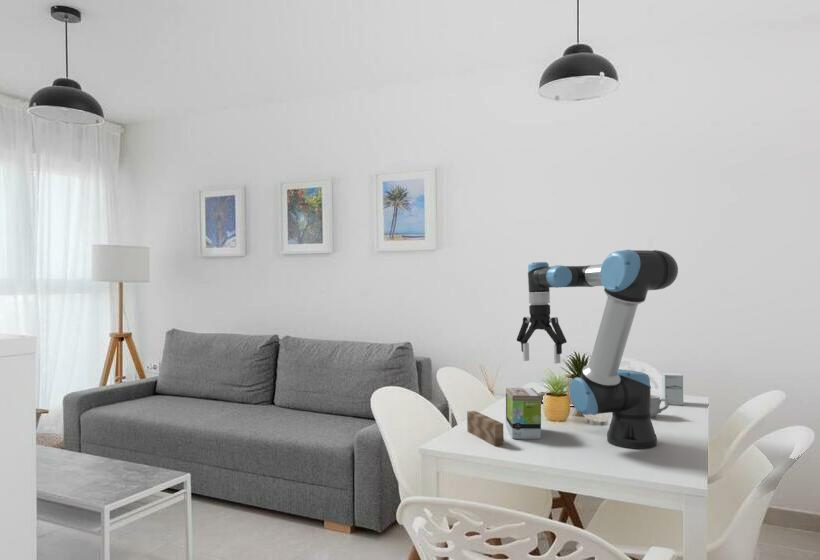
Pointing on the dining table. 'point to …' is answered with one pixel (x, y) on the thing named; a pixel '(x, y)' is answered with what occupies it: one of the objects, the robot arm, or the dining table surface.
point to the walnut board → (485, 428)
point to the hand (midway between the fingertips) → (541, 362)
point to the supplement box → (672, 388)
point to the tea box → (523, 413)
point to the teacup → (657, 405)
